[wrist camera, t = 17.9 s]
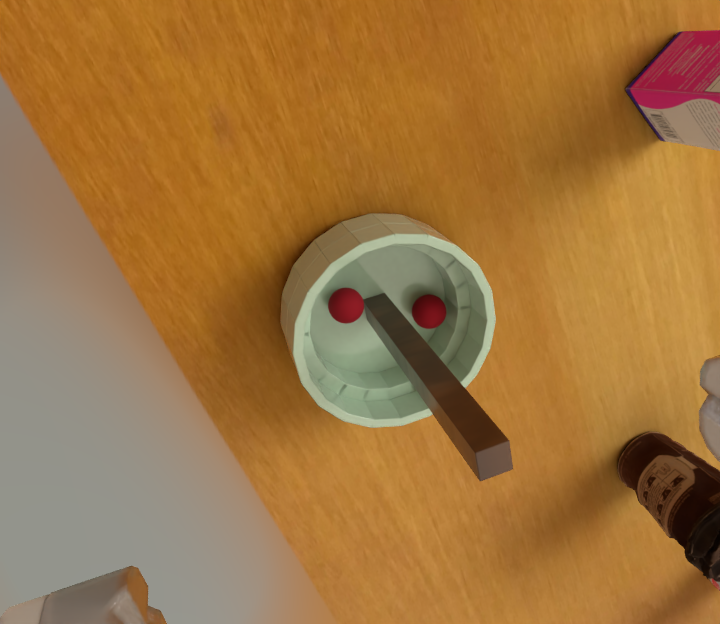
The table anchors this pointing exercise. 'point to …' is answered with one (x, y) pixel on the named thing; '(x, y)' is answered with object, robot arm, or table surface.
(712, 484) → the coffee cup
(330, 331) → the bowl
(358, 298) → the berry
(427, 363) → the stirring stick
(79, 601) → the robot arm
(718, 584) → the pill bottle
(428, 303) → the berry
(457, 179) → the table surface
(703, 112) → the supplement box
